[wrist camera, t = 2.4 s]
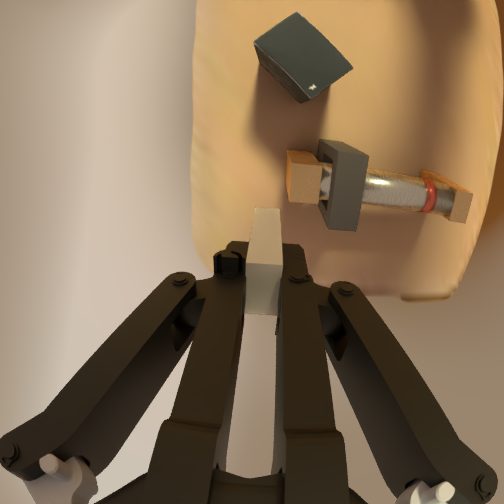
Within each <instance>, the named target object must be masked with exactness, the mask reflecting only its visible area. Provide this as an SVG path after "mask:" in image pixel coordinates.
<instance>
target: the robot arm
mask: <svg viewBox="0 0 504 504" xmlns="http://www.w3.org/2000/svg"><path fill="white" fill-rule="evenodd" d="M213 258H214V275H213V277H211V278H208V279H204V280H196V279H195V276H194V275H192V274H190V273H188V272H176V273H173V274H170V275H169V276H168V277H166V278H165V280H163V282H161V283H160V284H159V286H158V287H157V288H156V289H154V290H153V291H152V293H151V294H150V295H149V296H148V297H147V298H146V299H145V300H144V301H143V302H142V303H141V304H140V305H139V306H138V307H137V308H136V309H135V310H134V311H133V312H132V313H131V314H130V315H129V317H127V318H126V319H125V321H124V322H123V323H122V324H121V325H120V326H119V327H118V328H117V329H116V330H115V331H114V332H113V333H112V334H111V335H110V336H109V338H108V339H107V340H106V341H105V342H104V343H103V344H102V345H101V346H100V347H99V348H98V350H97V351H96V352H95V353H94V354H93V355H92V356H91V357H90V358H89V359H88V361H87V362H86V363H85V364H84V365H83V366H82V367H81V368H80V370H79V371H78V372H77V373H76V374H75V375H74V376H73V377H72V379H71V380H70V381H69V382H68V383H67V384H66V386H65V387H64V388H63V389H62V390H61V391H60V392H59V394H58V395H57V396H56V397H55V398H54V400H53V401H52V402H51V403H50V404H49V406H48V407H47V408H46V409H45V411H44V412H42V413H40V414H38V415H37V416H35V417H34V418H32V419H30V420H29V421H27V422H25V423H24V424H22V425H20V426H19V427H17V428H15V429H14V430H12V431H10V432H9V433H7V434H5V435H4V436H3V437H2V438H1V439H0V463H1V465H2V466H3V467H4V468H5V469H6V470H8V471H9V472H11V473H12V474H14V475H16V476H17V477H19V478H21V479H22V480H23V481H24V482H25V484H26V486H27V488H28V490H29V492H30V494H31V495H32V497H33V499H34V501H35V502H36V504H88V503H89V500H90V499H91V497H92V496H93V495H95V494H97V492H98V486H97V481H96V476H97V475H99V474H100V473H101V472H102V471H103V470H104V469H105V468H106V467H107V466H108V465H109V464H110V462H111V461H112V460H113V458H114V457H115V456H116V455H117V453H118V452H119V450H120V449H121V447H122V446H123V444H124V443H125V441H126V440H127V438H128V437H129V435H130V434H131V432H132V431H133V429H134V428H135V426H136V425H137V423H138V422H139V420H140V418H141V417H142V416H143V414H144V413H145V411H146V410H147V408H148V406H149V405H150V403H151V402H152V401H153V399H154V398H155V396H156V395H157V393H158V392H159V390H160V389H161V387H162V386H163V384H164V383H165V381H166V379H167V378H168V377H169V375H170V373H171V372H172V371H173V369H174V368H175V366H176V365H177V363H178V362H179V360H180V359H181V357H182V355H183V354H184V353H185V351H186V350H187V348H188V347H189V345H190V344H191V342H192V341H193V342H192V344H191V348H190V351H189V354H188V358H187V361H186V364H185V368H184V372H183V375H182V378H181V381H180V385H179V388H178V392H177V395H176V399H175V402H174V406H173V409H172V413H171V416H170V418H169V419H167V420H164V422H163V423H162V424H161V427H160V430H159V432H158V436H157V439H156V443H155V447H154V451H153V454H152V458H151V461H150V465H149V469H148V472H147V473H145V474H143V475H141V476H139V477H137V478H136V479H134V480H133V481H131V482H130V483H128V484H127V485H125V486H123V487H122V488H120V489H118V490H117V491H115V492H113V493H112V494H110V495H108V496H107V497H105V498H103V499H101V500H100V501H98V502H96V503H94V504H368V503H367V502H365V501H364V500H363V499H362V498H361V497H360V496H359V495H358V494H357V493H356V492H355V491H354V490H352V489H351V488H349V487H348V475H347V463H346V453H345V443H344V438H343V436H342V433H341V432H339V431H337V430H336V426H335V420H334V411H333V402H332V394H331V386H330V379H329V372H328V365H327V358H326V352H327V354H328V356H329V358H330V361H331V362H332V365H333V367H334V369H335V371H336V373H337V375H338V378H339V380H340V382H341V384H342V386H343V388H344V391H345V393H346V395H347V397H348V399H349V402H350V404H351V406H352V408H353V410H354V413H355V415H356V417H357V419H358V422H359V424H360V426H361V428H362V431H363V433H364V435H365V437H366V440H367V442H368V444H369V446H370V449H371V451H372V453H373V456H374V458H375V460H376V463H377V465H378V467H379V470H380V472H381V474H382V476H383V478H384V480H385V482H386V484H387V486H388V487H389V488H390V490H391V492H392V493H393V494H394V496H395V497H396V498H397V500H396V502H395V504H485V503H487V502H488V501H490V500H491V498H492V497H493V496H494V494H495V492H496V489H497V484H498V479H497V475H496V473H495V471H494V470H493V469H492V468H491V467H490V466H489V465H487V464H486V463H485V462H484V461H483V460H482V459H481V458H480V457H479V456H478V455H476V454H475V453H474V452H473V451H472V450H471V449H470V448H469V447H467V446H466V445H465V444H464V443H463V442H462V441H461V440H459V438H458V436H457V434H456V432H455V431H454V429H453V427H452V425H451V424H450V422H449V420H448V418H447V417H446V415H445V413H444V412H443V410H442V408H441V407H440V405H439V404H438V402H437V400H436V399H435V397H434V395H433V394H432V392H431V391H430V389H429V388H428V386H427V384H426V383H425V381H424V380H423V378H422V377H421V375H420V374H419V372H418V370H417V369H416V367H415V366H414V365H413V363H412V361H411V360H410V358H409V357H408V356H407V354H406V353H405V351H404V350H403V348H402V347H401V345H400V344H399V342H398V341H397V339H396V338H395V337H394V335H393V334H392V332H391V331H390V330H389V328H388V327H387V325H386V324H385V323H384V321H383V320H382V318H381V317H380V316H379V314H378V313H377V312H376V310H375V309H374V308H373V306H372V305H371V304H370V302H369V301H368V300H367V298H366V297H365V296H364V294H363V293H362V292H361V290H360V289H359V288H358V287H357V286H356V285H354V284H352V283H350V282H346V281H338V282H334V283H333V284H332V285H331V288H327V287H323V286H320V285H318V284H316V283H314V282H313V278H312V276H311V275H309V274H308V270H307V264H306V260H305V254H304V249H303V248H302V247H301V246H300V245H299V244H284V243H282V237H281V221H280V209H275V208H259V207H255V212H254V218H253V224H252V230H251V235H250V241H249V242H241V241H232V242H230V243H229V244H228V245H227V247H226V250H222V251H219V252H217V253H216V254H215V255H214V256H213ZM244 312H245V313H246V314H260V315H277V313H278V315H277V324H276V331H275V335H276V390H275V423H274V449H273V463H272V469H271V475H268V476H263V477H257V478H250V479H249V478H244V477H240V476H237V475H234V474H231V473H228V472H226V456H227V447H228V440H229V432H230V425H231V417H232V410H233V402H234V395H235V387H236V379H237V372H238V364H239V357H240V349H241V341H242V334H243V326H244ZM325 350H326V351H325Z"/></svg>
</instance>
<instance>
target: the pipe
mask: <svg viewBox="0 0 504 504" xmlns="http://www.w3.org/2000/svg"><path fill="white" fill-rule="evenodd" d="M332 166H333V164H332V163H323V162H319V161H318V160H317V159H316V158H315V157H314V156H313V154H312V153H311V152H307V151H296V150H287V162H286V176H285V180H286V186H287V193H288V199H289V202H297V203H310V204H318V201H319V199H321V200H328V198H329V190H330V183H331V174H332ZM472 197H473V193H471V192H469V191H468V190H466V189H464V188H463V187H461V186H459V185H457V184H456V183H454V182H452V181H450V180H448V179H447V178H445V177H443V176H441V175H439V174H437V173H434V172H429V171H425V170H422V171H421V176H420V178H418V177H413V176H408V175H403V174H398V173H392V172H387V171H381V170H375V169H368V168H367V173H366V180H365V186H364V192H363V198H362V203H361V204H368V205H376V206H384V207H392V208H399V209H406V210H413V211H417V212H423V213H432V214H438V215H443V216H444V217H445V218H446V219H448V220H449V221H454V222H459V223H466V219H467V216H468V212H469V208H470V205H471V201H472Z"/></svg>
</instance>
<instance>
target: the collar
mask: <svg viewBox="0 0 504 504" xmlns="http://www.w3.org/2000/svg"><path fill="white" fill-rule="evenodd" d="M368 159H369V156H368V155H366V154H364V153H363V152H361V151H359V150H357V149H355V148H353V147H351V146H349V145H347V144H345V143H343V142H339V141H332V140H324V139H320V140H319V151H318V161H319V162H323V163H332V164H333V166H332V174H331V183H330V190H329V198H328V200H321V199H319V201H318V207H319V209H320V211H321V214H322V216H323V218H324V221H325V223H326V226H327V228H328V229H332V230H344V231H355V232H356V229H357V225H358V220H359V214H360V209H361V203H362V198H363V192H364V186H365V180H366V173H367V166H368Z"/></svg>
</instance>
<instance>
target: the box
mask: <svg viewBox="0 0 504 504" xmlns="http://www.w3.org/2000/svg"><path fill="white" fill-rule="evenodd" d="M253 44H254V47H255V49H256V53H257V56H258V59H259V62H260V63H261V64H262V65H263V66H264V67H265V68H266V69H267V70H268V71H269V72H270V73H271V74H272V75H273V76H274V77H275V78H276V79H277V80H278V81H279V82H280V83H281V84H282V85H283V86H284V87H285V88H286V89H287V90H288V91H289V92H290V94H291V95H292V96H293V97H294V98H295V99H296V100H297V101H298V102H299V103H303V102H305V101H308V100H310V99H313V98H314V97H315V96H316V95H318V94H319V93H320V92H322V91H323V90H324V89H326V88H327V87H328V86H330V85H331V84H333V83H334V82H335V81H337V80H338V79H339V78H341V77H342V76H344V75H345V74H346V73H348V72H349V71H351V70H352V69H353V67H352V65H351V64H350V63H349V62H348V61H347V60H346V59H345V58H344V56H343V55H342V54H341V53H340V52H339V51H338V50H337V49H336V48H335V47H334V46H333V45H332V44H331V43H330V42H329V41H328V40H327V39H326V38H325V37H324V36H323V35H322V34H321V33H320V32H319V31H318V30H317V29H316V28H315V27H314V26H313V25H312V24H311V23H310V22H309V21H307V20H306V19H305V18H304V17H303V16H302V15H301V14H300V13H299V12H295V13H294V14H292V15H290V16H289V17H287V18H286V19H285V20H283V21H282V22H280V23H279V24H277V25H276V26H274V27H273V28H271V29H270V30H269V31H267V32H266V33H264V34H263V35H262V36H260V37H259V38H258V39H256V40H255V41H254V42H253Z"/></svg>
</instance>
